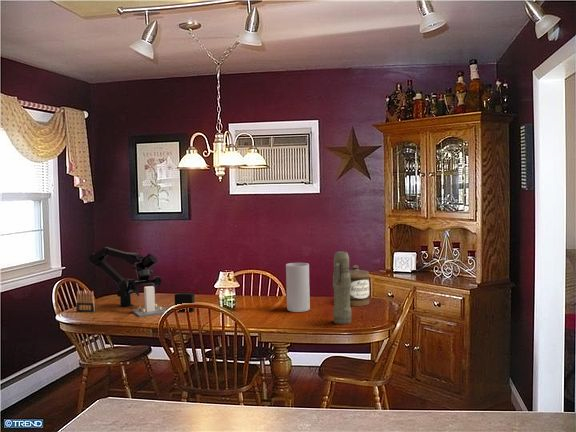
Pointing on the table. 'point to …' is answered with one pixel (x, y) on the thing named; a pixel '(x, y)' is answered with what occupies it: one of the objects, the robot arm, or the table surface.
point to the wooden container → (359, 287)
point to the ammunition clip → (85, 302)
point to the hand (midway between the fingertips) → (147, 294)
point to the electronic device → (184, 300)
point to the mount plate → (142, 312)
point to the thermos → (341, 289)
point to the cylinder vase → (297, 287)
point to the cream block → (149, 298)
